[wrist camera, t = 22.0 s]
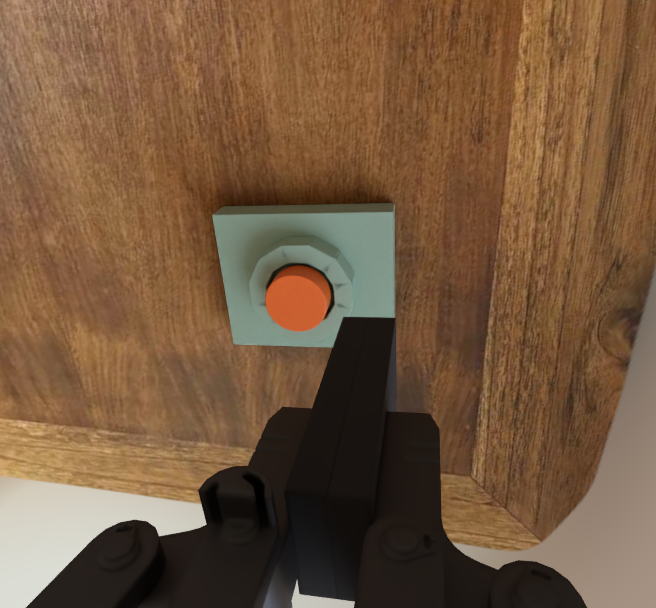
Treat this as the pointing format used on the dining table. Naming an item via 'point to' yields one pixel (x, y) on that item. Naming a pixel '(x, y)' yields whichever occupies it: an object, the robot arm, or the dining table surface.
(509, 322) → the dining table surface
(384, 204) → the button box
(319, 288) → the button
